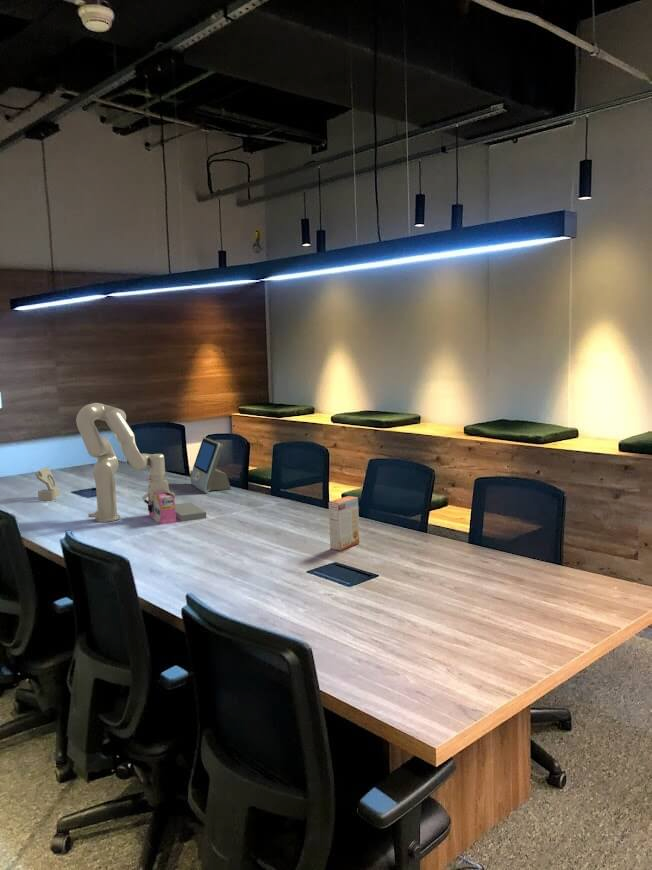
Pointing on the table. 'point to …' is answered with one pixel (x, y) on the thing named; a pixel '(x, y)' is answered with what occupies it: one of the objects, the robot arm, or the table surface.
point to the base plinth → (188, 512)
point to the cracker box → (344, 523)
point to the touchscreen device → (209, 468)
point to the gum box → (163, 509)
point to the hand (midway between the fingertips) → (159, 510)
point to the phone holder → (51, 485)
